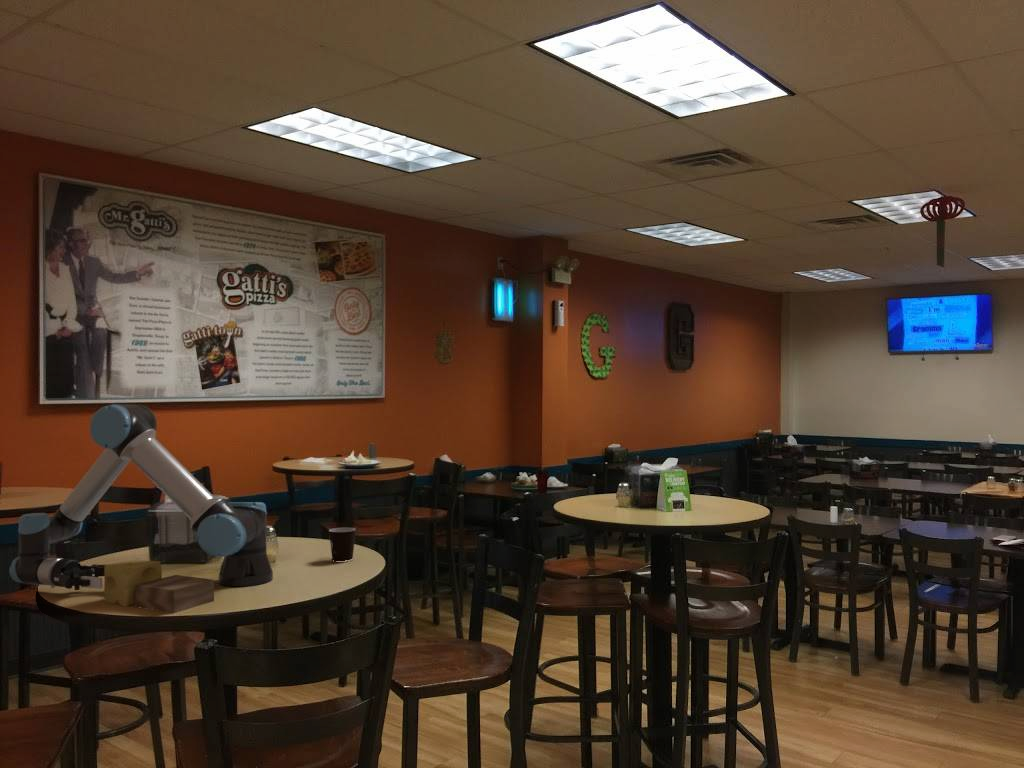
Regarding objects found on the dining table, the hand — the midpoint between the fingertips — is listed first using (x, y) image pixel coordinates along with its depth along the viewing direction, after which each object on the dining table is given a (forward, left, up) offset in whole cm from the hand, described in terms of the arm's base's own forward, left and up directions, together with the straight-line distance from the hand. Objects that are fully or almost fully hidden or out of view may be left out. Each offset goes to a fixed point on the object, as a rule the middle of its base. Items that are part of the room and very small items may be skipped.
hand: (121, 577), depth 224 cm
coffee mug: (-30, -64, -6) cm, 71 cm away
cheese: (-3, 0, -6) cm, 7 cm away
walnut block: (-17, 0, -6) cm, 18 cm away
